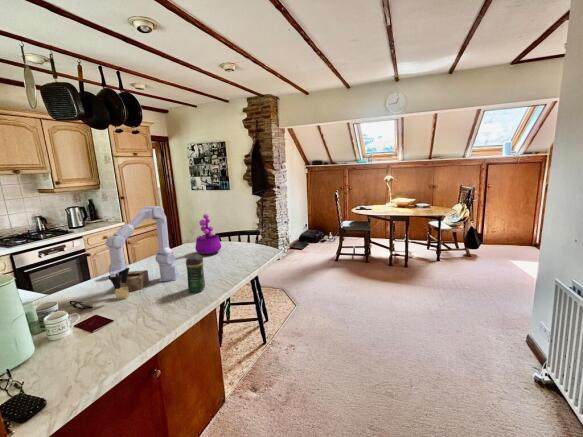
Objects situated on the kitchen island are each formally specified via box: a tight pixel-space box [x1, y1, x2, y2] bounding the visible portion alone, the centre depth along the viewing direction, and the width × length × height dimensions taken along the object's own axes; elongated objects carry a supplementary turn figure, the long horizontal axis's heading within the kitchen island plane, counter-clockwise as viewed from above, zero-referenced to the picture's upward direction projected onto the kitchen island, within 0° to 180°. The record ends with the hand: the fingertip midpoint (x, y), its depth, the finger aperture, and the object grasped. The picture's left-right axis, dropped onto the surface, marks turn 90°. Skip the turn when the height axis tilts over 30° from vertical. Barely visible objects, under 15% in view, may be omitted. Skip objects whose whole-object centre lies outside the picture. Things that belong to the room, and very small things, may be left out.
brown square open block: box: [120, 269, 150, 291], centre depth 160 cm, size 12×12×6 cm
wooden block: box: [114, 287, 130, 300], centre depth 146 cm, size 5×3×5 cm, turn 99°
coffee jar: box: [185, 253, 206, 294], centre depth 152 cm, size 10×8×19 cm
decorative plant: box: [195, 213, 222, 255], centre depth 217 cm, size 19×18×30 cm
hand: (121, 285), depth 145 cm, fingers open, 7 cm apart
